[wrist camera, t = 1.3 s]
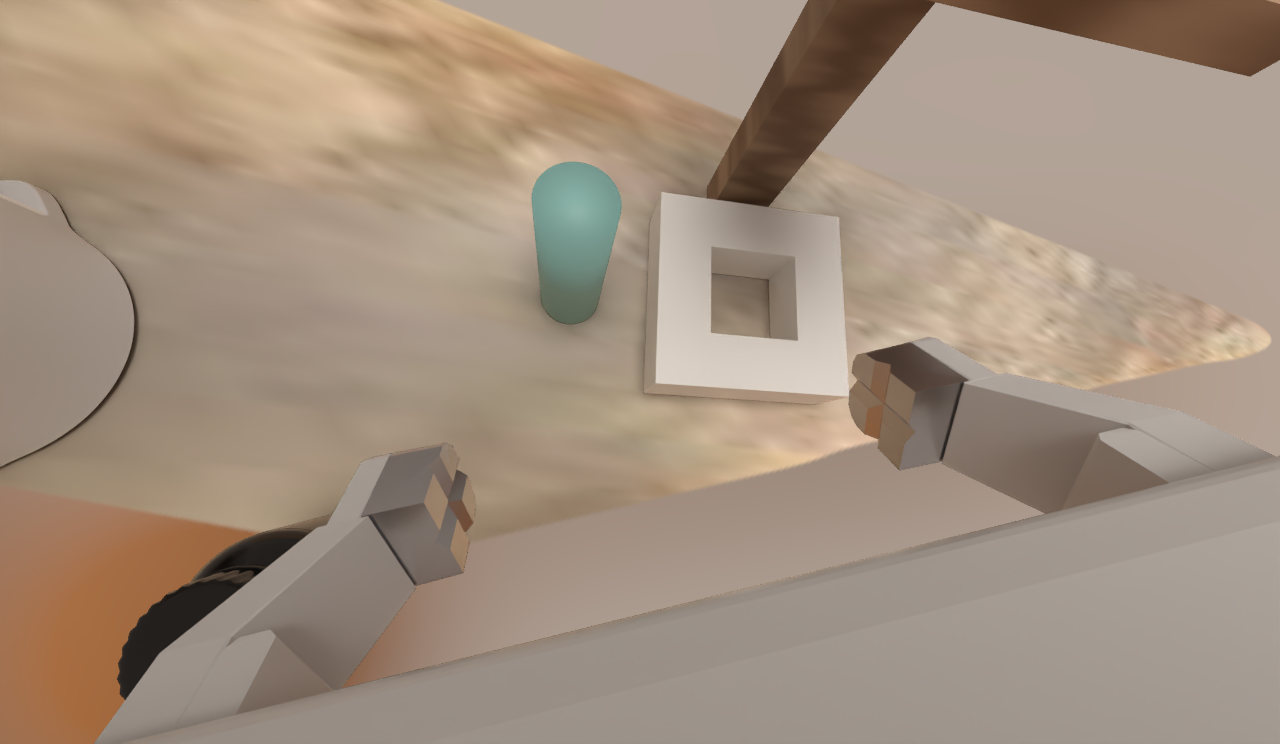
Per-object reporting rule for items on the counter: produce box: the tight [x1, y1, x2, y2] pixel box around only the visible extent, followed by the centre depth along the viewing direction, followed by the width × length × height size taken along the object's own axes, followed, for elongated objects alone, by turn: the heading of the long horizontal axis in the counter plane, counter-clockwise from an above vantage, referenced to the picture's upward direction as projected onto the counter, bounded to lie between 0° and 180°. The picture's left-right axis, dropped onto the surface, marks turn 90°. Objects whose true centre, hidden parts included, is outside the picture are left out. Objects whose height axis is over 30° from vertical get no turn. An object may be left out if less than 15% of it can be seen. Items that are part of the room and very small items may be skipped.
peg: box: [532, 162, 622, 324], centre depth 26 cm, size 4×4×12 cm
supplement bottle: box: [117, 514, 332, 700], centre depth 21 cm, size 7×7×12 cm
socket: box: [644, 192, 849, 405], centre depth 32 cm, size 13×13×4 cm
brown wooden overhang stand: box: [707, 0, 1280, 207], centre depth 23 cm, size 10×11×25 cm
